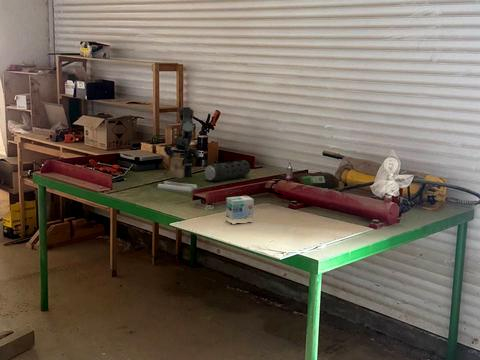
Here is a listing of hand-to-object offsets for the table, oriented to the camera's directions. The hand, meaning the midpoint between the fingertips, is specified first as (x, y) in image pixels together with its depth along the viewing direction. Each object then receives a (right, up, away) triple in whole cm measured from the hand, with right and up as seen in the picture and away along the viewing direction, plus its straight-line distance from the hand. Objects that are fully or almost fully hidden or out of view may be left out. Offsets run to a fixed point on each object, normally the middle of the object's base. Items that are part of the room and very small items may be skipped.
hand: (176, 164), depth 308 cm
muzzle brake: (+26, -8, +32) cm, 42 cm away
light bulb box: (+33, -27, -51) cm, 66 cm away
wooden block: (0, -6, +3) cm, 7 cm away
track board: (0, -13, +4) cm, 14 cm away
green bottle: (+70, -15, +9) cm, 72 cm away
